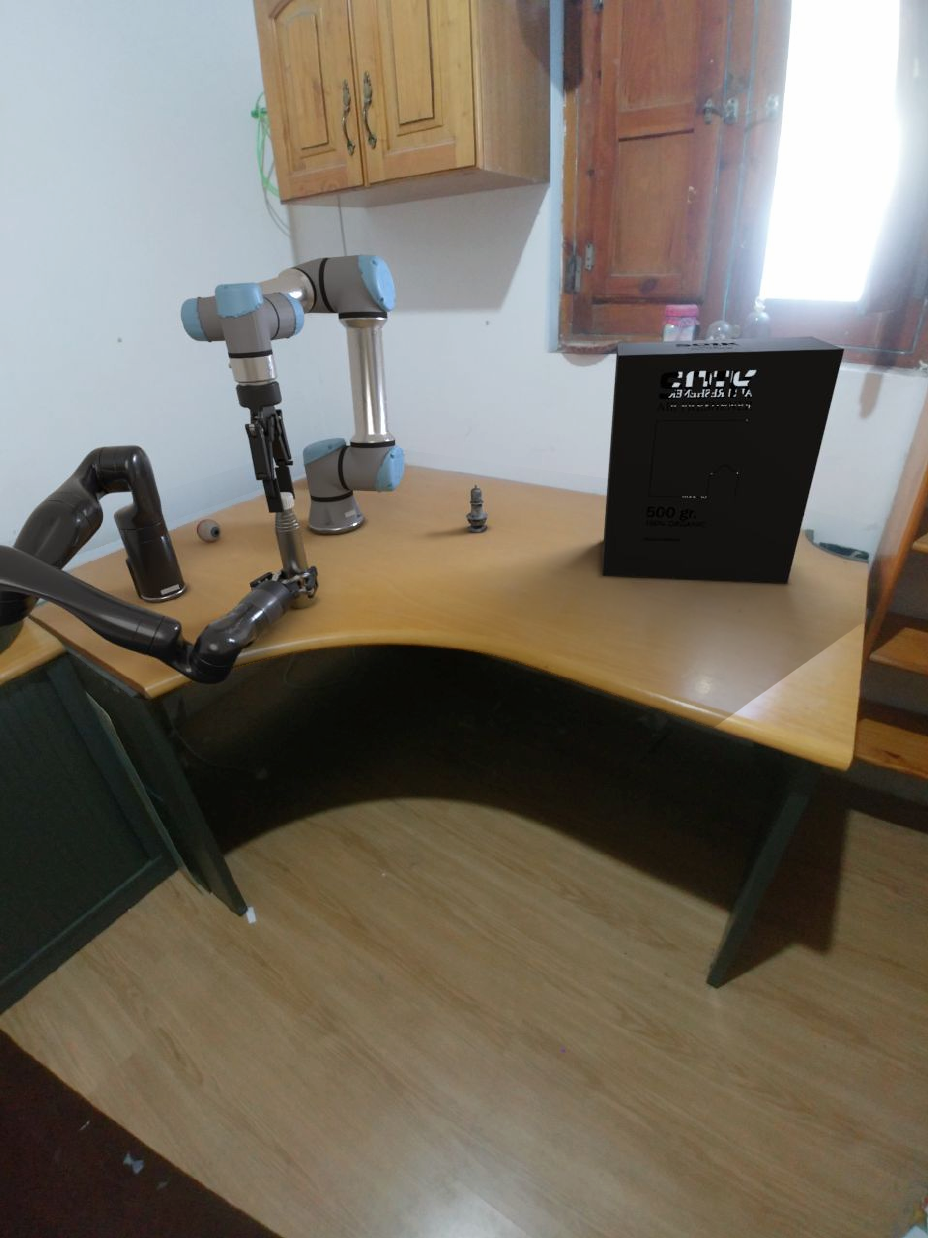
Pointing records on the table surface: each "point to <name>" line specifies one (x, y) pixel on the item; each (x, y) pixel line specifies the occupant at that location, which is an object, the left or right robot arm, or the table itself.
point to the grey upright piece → (476, 512)
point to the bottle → (292, 551)
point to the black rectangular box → (714, 456)
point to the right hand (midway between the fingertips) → (282, 505)
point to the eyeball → (208, 530)
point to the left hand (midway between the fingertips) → (302, 569)
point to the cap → (287, 500)
